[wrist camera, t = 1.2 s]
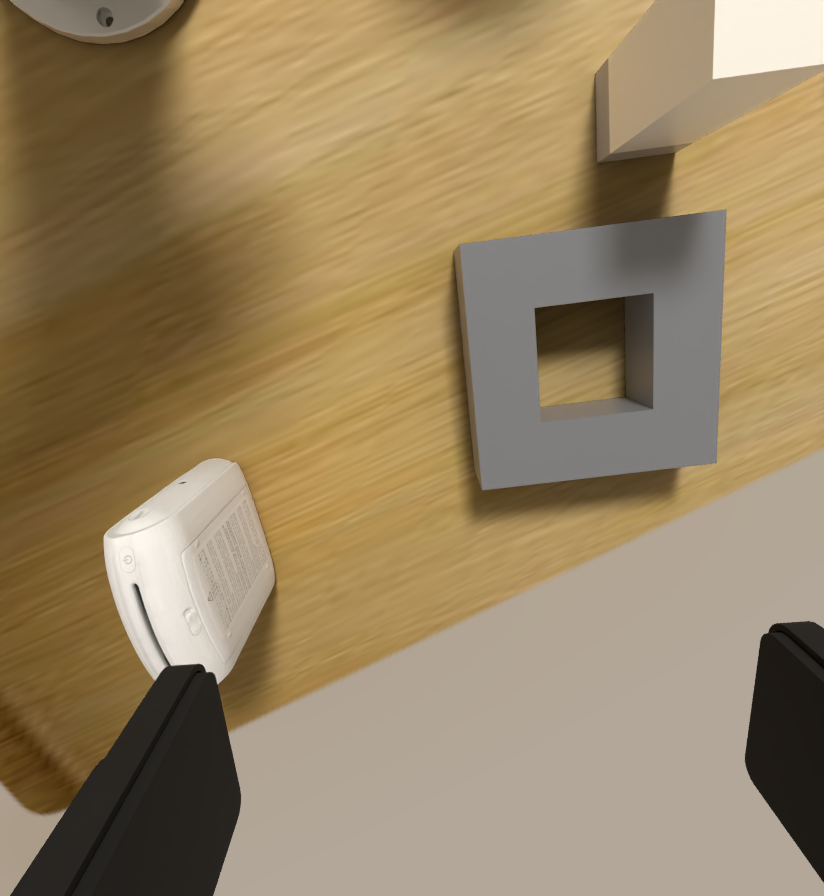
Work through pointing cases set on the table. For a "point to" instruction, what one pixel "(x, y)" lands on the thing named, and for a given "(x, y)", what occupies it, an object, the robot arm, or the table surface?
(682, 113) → the plug
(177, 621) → the photo printer
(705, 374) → the socket box
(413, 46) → the table surface
